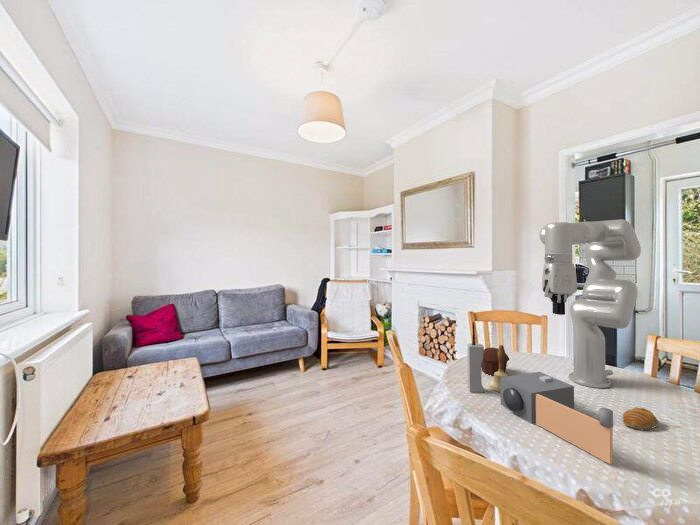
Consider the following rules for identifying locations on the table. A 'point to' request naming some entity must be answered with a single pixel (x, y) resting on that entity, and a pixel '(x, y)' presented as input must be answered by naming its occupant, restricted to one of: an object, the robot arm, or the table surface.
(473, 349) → the vintage mobile phone
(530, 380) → the cabinet body
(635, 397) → the table surface
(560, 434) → the side door
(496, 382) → the hand bell
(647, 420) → the pastry
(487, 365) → the muffin
